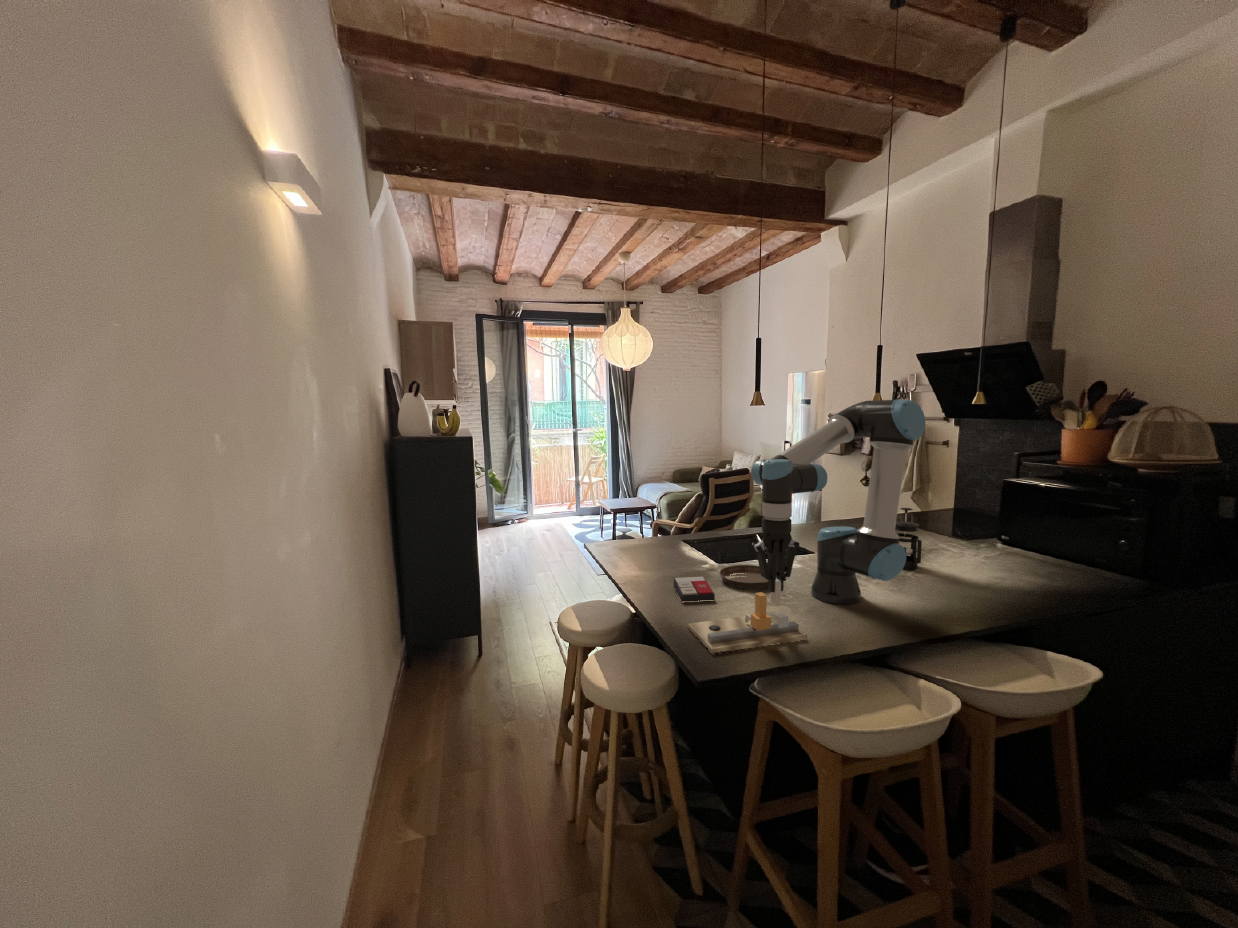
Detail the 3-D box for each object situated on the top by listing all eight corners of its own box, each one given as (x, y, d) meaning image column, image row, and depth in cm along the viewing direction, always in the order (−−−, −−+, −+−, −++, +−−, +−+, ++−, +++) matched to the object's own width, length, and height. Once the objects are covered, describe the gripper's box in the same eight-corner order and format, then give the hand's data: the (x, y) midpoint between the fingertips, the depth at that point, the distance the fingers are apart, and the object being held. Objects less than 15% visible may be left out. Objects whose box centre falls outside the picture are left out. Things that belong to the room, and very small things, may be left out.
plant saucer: (708, 577, 189) (708, 568, 189) (755, 569, 196) (755, 561, 196) (740, 595, 170) (740, 585, 169) (790, 586, 177) (790, 577, 177)
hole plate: (774, 616, 151) (775, 611, 151) (807, 640, 136) (807, 634, 135) (687, 628, 144) (687, 623, 144) (711, 654, 129) (711, 648, 129)
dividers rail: (780, 618, 146) (780, 601, 146) (799, 632, 137) (799, 614, 137) (697, 629, 140) (697, 612, 140) (711, 645, 131) (711, 626, 130)
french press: (883, 563, 199) (885, 506, 196) (901, 560, 202) (903, 504, 199) (909, 572, 188) (912, 512, 185) (927, 569, 191) (930, 509, 188)
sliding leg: (752, 619, 144) (752, 583, 143) (770, 634, 135) (771, 595, 134) (739, 621, 143) (739, 585, 142) (757, 636, 134) (757, 597, 133)
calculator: (681, 593, 163) (673, 576, 178) (681, 606, 164) (673, 587, 178) (715, 592, 164) (703, 574, 178) (714, 604, 164) (703, 586, 179)
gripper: (790, 513, 139) (788, 595, 141) (747, 516, 136) (746, 600, 138) (806, 518, 132) (804, 605, 134) (762, 522, 128) (761, 610, 131)
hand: (775, 602), depth 136 cm, fingers closed
